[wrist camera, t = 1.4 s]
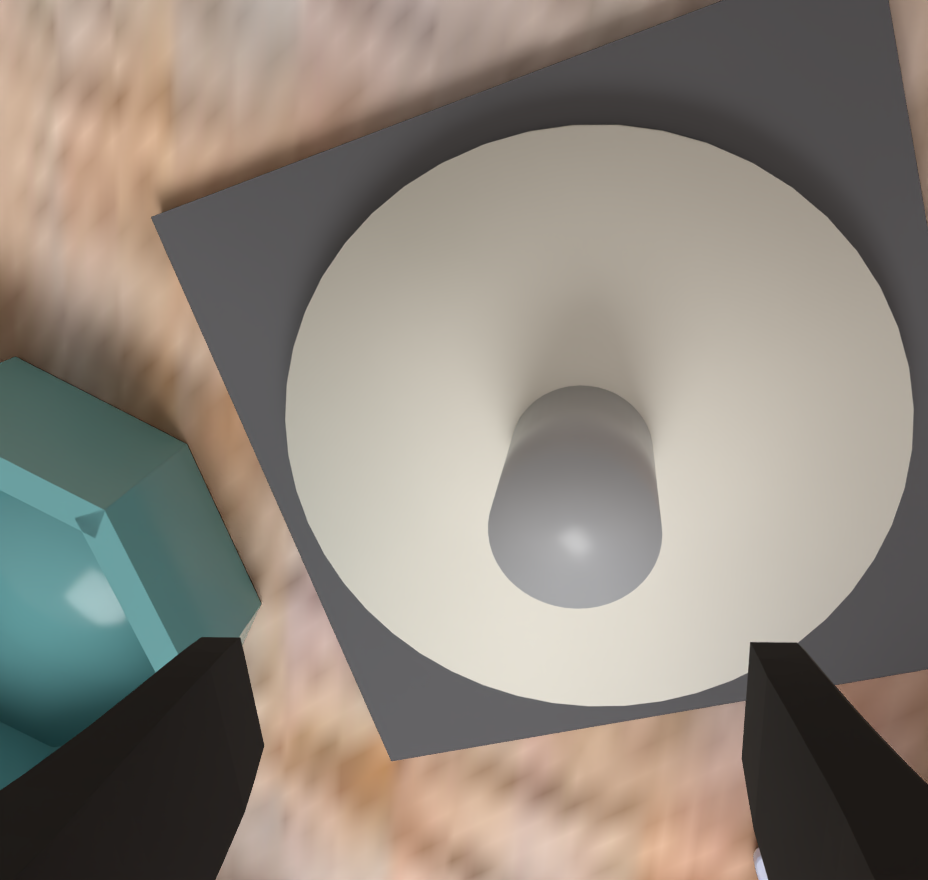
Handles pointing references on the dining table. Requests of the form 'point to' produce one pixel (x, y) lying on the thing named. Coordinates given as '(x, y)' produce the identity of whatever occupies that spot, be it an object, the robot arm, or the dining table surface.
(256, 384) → the mat
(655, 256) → the lid
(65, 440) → the bowl
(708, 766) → the dining table surface
